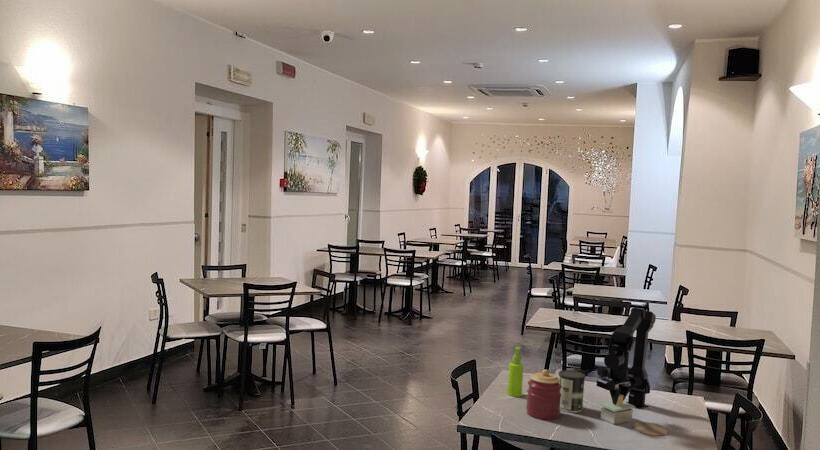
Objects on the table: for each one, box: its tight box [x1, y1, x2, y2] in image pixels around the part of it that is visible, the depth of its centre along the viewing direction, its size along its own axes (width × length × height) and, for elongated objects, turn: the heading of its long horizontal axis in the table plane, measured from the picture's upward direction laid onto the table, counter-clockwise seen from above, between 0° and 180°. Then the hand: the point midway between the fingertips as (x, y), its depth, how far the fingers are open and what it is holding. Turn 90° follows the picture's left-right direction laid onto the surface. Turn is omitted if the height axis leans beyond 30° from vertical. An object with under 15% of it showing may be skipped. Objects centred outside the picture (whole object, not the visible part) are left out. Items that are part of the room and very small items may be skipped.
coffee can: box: [558, 369, 586, 414], centre depth 256 cm, size 10×10×14 cm
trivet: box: [633, 421, 669, 437], centre depth 238 cm, size 12×12×1 cm
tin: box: [600, 406, 634, 426], centre depth 246 cm, size 10×6×4 cm, turn 120°
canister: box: [525, 369, 562, 420], centre depth 247 cm, size 13×13×18 cm
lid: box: [599, 394, 636, 412], centre depth 245 cm, size 11×8×6 cm
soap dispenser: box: [507, 346, 525, 398], centre depth 270 cm, size 6×7×20 cm
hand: (617, 403), depth 245 cm, fingers closed on lid, 3 cm apart
